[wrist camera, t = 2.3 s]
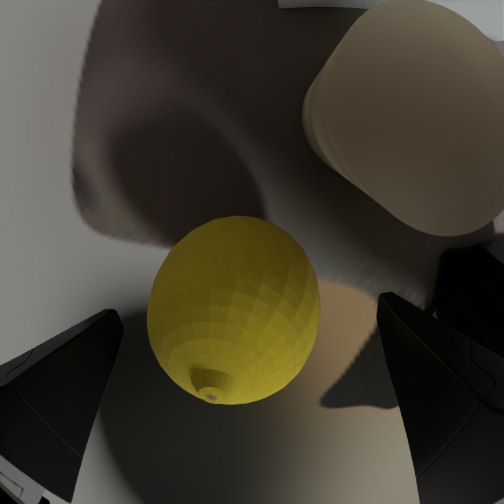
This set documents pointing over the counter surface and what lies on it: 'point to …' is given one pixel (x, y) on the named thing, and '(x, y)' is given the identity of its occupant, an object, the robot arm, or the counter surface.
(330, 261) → the counter surface
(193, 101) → the counter surface
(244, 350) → the lemon
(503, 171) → the birch peg
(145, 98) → the counter surface
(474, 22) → the tote
